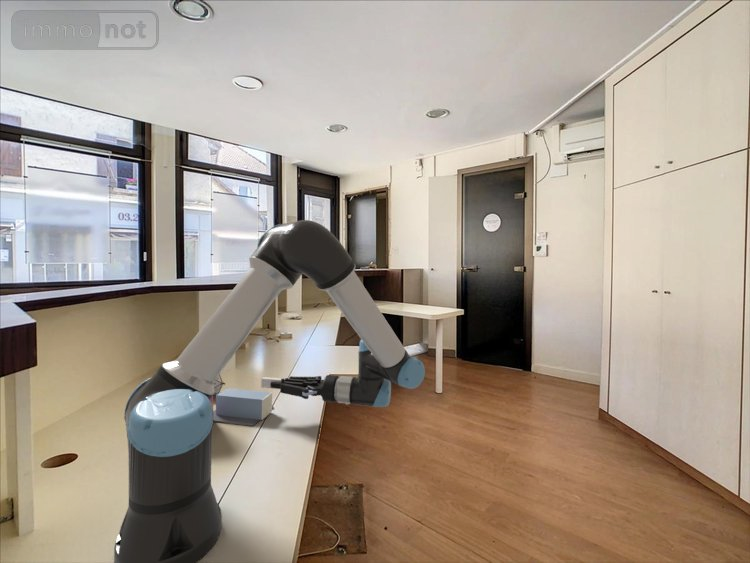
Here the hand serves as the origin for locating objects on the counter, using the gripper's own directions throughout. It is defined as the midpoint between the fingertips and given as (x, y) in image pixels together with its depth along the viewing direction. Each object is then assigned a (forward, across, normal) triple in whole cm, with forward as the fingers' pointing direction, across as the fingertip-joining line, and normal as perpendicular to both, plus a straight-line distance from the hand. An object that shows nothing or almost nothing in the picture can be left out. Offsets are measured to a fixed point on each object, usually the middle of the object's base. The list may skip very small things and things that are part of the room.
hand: (262, 382), depth 103 cm
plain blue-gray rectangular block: (-2, 0, -7) cm, 7 cm away
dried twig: (+24, +11, -11) cm, 29 cm away
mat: (+7, 0, -10) cm, 13 cm away
